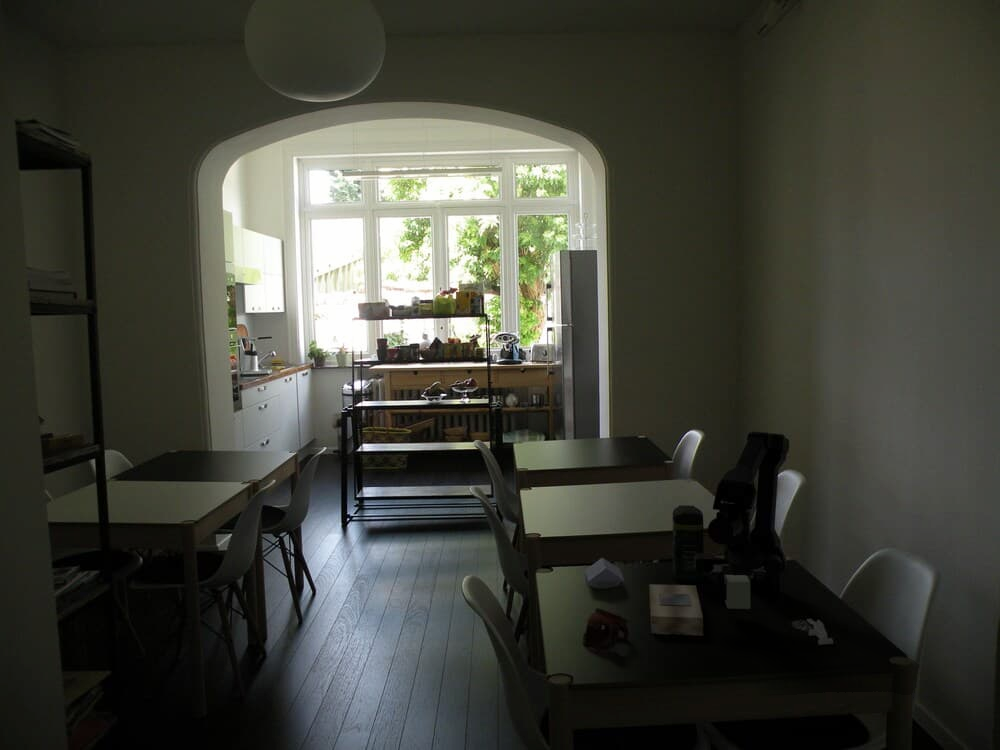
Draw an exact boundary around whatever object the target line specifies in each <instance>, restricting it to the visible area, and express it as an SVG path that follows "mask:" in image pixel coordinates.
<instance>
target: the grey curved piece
mask: <svg viewBox="0 0 1000 750" xmlns="http://www.w3.org/2000/svg"><path fill="white" fill-rule="evenodd" d="M790 625H791V626H792V627H793V628H794V629H797V630H798V629H799V630H802V631H804V632H808V636H809V637H810V636H816V637H817V638H818V641H817V645H818V646H819V645H833V644H834V640H833V638H832V637H828V633H827V630H826V628H825V624H824V623H823V622H822V621H821V620H820V619H817V620H816V621H815V620H814V619H812V618H806V620H805V619H801V618H800V619H795V620H793V621H792V622H791V624H790Z"/></svg>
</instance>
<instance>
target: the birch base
mask: <svg viewBox="0 0 1000 750" xmlns="http://www.w3.org/2000/svg"><path fill="white" fill-rule="evenodd" d="M648 589H649V613H650V624H651V625H650V628H651V629H652V630H651V635H669V634H676V636H699V637H700V636H701V637H702V636H704V615H703V612H702V606H701V603H700V598H699V594H698V591H697V590H698V589H697V585H695V584H694V585H690V584H689V585H687V584H681V585H680V584H652V583H651V584H650V583H649V588H648ZM655 633H656V634H655ZM680 634H681V635H680Z"/></svg>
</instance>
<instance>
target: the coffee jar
mask: <svg viewBox="0 0 1000 750" xmlns="http://www.w3.org/2000/svg"><path fill="white" fill-rule="evenodd" d="M671 515H672V574H673V576H674V577H675V579H676V580H680V581H685V582H688V583H690V582H691V583H692V582H693V583H694V582H696V581H697V582H698V581H702V580H703V579H704V575H705V574H704V573H705V572H697V571H696V570H695V566H694V555H695V554H696V553H705V551H704V550H705V539H704V537H705V532H704V530H705V529H704V513H703V512H702V510H701V509H700V508H697V507H696V506H695V505H678V506H676V507H675V508H674V509H673V510H672V514H671Z"/></svg>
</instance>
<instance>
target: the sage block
mask: <svg viewBox="0 0 1000 750" xmlns="http://www.w3.org/2000/svg"><path fill="white" fill-rule="evenodd" d="M724 580H725V587H726V600H724V601H725V602H724V603H725V605H726V608H727V609H734V610H736V609H737V610H751V601H750V581H749V576H746V575H732V574H724Z"/></svg>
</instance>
